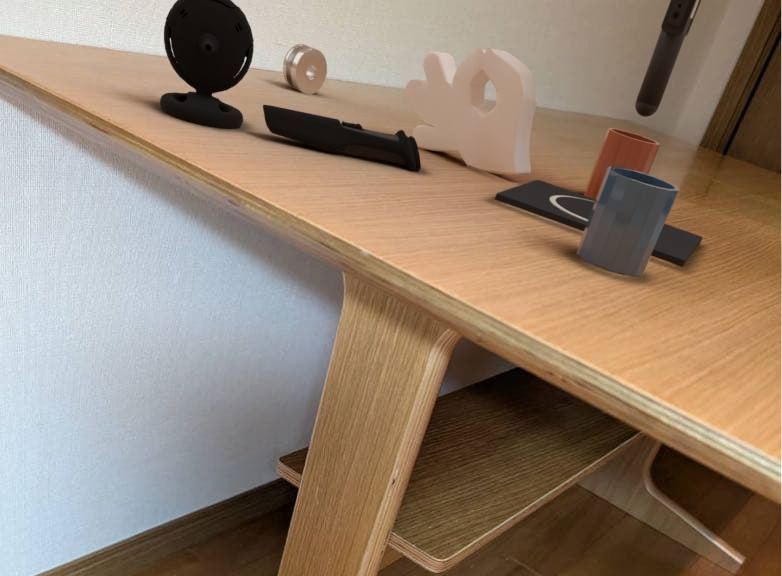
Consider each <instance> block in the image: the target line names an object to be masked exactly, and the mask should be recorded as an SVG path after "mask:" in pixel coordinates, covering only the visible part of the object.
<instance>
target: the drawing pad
mask: <svg viewBox="0 0 782 576" xmlns="http://www.w3.org/2000/svg"><path fill="white" fill-rule="evenodd" d="M494 200H495V201H499V202H501V203H504V204H507V205H510V206H512V207H515V208H518V209H520V210H523V211H526V212H529V213H531V214H533V215H534V214H535V215H537V216H540V217H543V218H545V219H548V220H551V221H553V222H556V223H560V224H563V225H564V226H568V227H570V228H572V229H576V230H579V231H582V232H584V230H585V227H586V224H587V222H588V219H589V216H590V214H591V211H592V208H593V206H594V203H595V199H592V198H590V197H587V196H584V194H581V193H578V192H575V191H572V190H569V189H566V188H564V187H560V186H558V185H555V184H552V183H549V182H546V181H543V180H540V179H534V180H532V181H528V182H527V183H523V184H521V185H517V186H514V187H511V188H508V189H505V190H502V191H499V192H497V193H496V194H495V197H494ZM703 239H704V238H703V236H701V235H699V234H695V233H693V232H690V231H687V230H684V229H681V228H678V227H676V226H672V225H670V224H667V223H666V224H665V226H664V228H663V231H662V233H661V235H660V238H659V240H658V242H657V245H656V247H655V249H654V252H653V254H652V256H651V257H654V258H656V259H659V260H663V261H664V262H668V263H671V264H674V265H676V266H680V267H684V265H686V263H687V262H688V260H689V259H690V258H691V256H692V255H693V253H694V252H695V251H696V250H697V248H698V247H699V246H700V245H701V242H702V240H703Z"/></svg>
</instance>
